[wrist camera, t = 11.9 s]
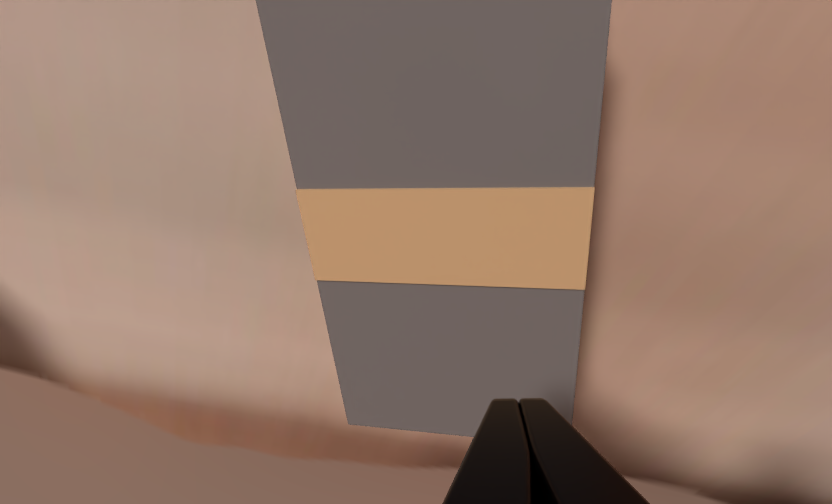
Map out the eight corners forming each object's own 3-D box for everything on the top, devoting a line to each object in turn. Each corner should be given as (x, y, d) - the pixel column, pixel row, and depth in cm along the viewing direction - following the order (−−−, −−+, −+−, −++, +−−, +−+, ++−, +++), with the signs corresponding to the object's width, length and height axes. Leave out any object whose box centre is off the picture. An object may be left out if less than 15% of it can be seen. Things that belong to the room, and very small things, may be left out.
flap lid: (354, 408, 19) (347, 426, 18) (253, -84, 12) (234, -88, 11) (568, 428, 18) (570, 449, 17) (618, -134, 10) (625, -143, 9)
